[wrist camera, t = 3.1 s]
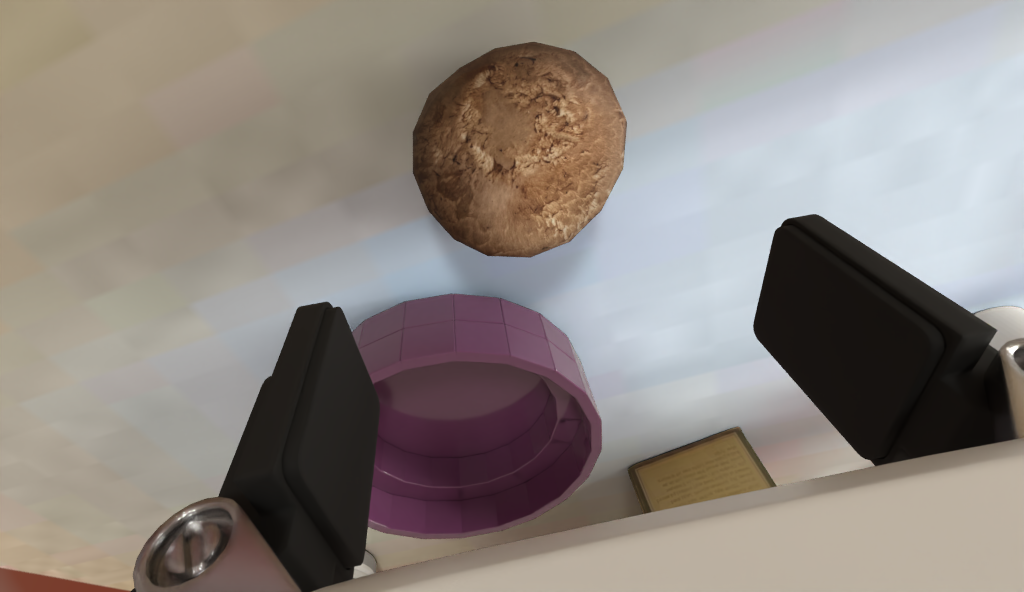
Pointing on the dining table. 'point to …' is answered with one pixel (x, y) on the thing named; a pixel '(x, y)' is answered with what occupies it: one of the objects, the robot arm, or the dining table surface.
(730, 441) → the food packaging
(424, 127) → the mushroom
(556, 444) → the bowl
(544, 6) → the dining table surface
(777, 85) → the dining table surface
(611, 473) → the dining table surface
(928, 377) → the robot arm
